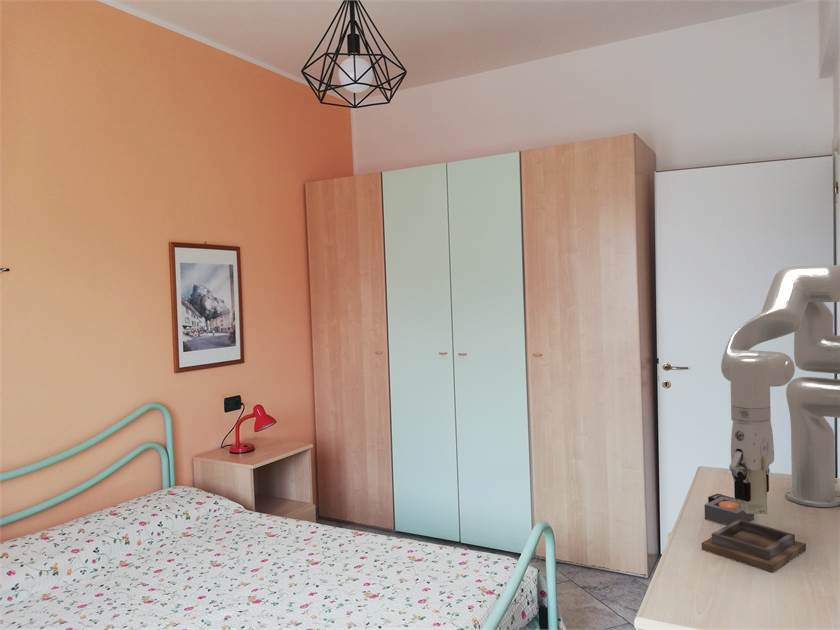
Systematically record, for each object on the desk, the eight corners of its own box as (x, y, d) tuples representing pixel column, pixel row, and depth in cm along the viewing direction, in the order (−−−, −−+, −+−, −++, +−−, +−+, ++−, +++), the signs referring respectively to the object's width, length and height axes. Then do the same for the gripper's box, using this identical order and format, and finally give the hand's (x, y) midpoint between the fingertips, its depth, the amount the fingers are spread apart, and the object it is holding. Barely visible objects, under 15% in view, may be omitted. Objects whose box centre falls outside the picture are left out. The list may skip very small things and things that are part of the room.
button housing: (721, 510, 163) (721, 496, 163) (754, 518, 156) (753, 504, 156) (704, 518, 158) (704, 504, 158) (737, 527, 152) (737, 513, 151)
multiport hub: (748, 517, 158) (748, 508, 158) (707, 505, 167) (707, 496, 167) (758, 513, 160) (758, 504, 160) (717, 501, 170) (717, 493, 170)
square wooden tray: (736, 530, 150) (735, 515, 150) (805, 550, 138) (805, 534, 138) (701, 549, 141) (701, 533, 141) (772, 572, 129) (772, 555, 129)
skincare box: (768, 515, 136) (767, 457, 135) (745, 514, 136) (744, 457, 136) (758, 504, 142) (757, 449, 141) (737, 503, 143) (736, 449, 142)
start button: (725, 509, 160) (724, 499, 160) (742, 514, 157) (742, 504, 157) (715, 514, 158) (715, 504, 157) (733, 519, 154) (733, 508, 154)
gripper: (748, 423, 130) (749, 510, 131) (787, 409, 140) (788, 489, 141) (712, 418, 136) (713, 500, 137) (752, 405, 146) (753, 482, 147)
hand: (751, 494), depth 139 cm, fingers closed on skincare box, 7 cm apart
